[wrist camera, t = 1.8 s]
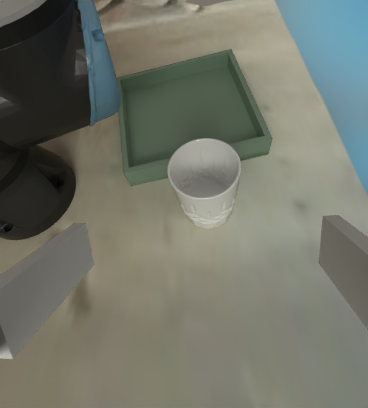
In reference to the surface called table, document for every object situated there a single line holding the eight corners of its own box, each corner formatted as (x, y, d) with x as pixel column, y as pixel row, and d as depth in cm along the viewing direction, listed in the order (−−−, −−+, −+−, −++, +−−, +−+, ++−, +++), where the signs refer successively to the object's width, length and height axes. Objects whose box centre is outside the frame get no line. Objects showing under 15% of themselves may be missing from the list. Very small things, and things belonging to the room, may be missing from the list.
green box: (131, 186, 39) (123, 173, 36) (122, 94, 49) (115, 78, 46) (268, 154, 38) (272, 138, 35) (230, 67, 48) (231, 49, 45)
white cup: (248, 206, 35) (257, 164, 26) (207, 245, 33) (202, 214, 24) (208, 174, 38) (204, 127, 29) (169, 207, 36) (152, 168, 28)
